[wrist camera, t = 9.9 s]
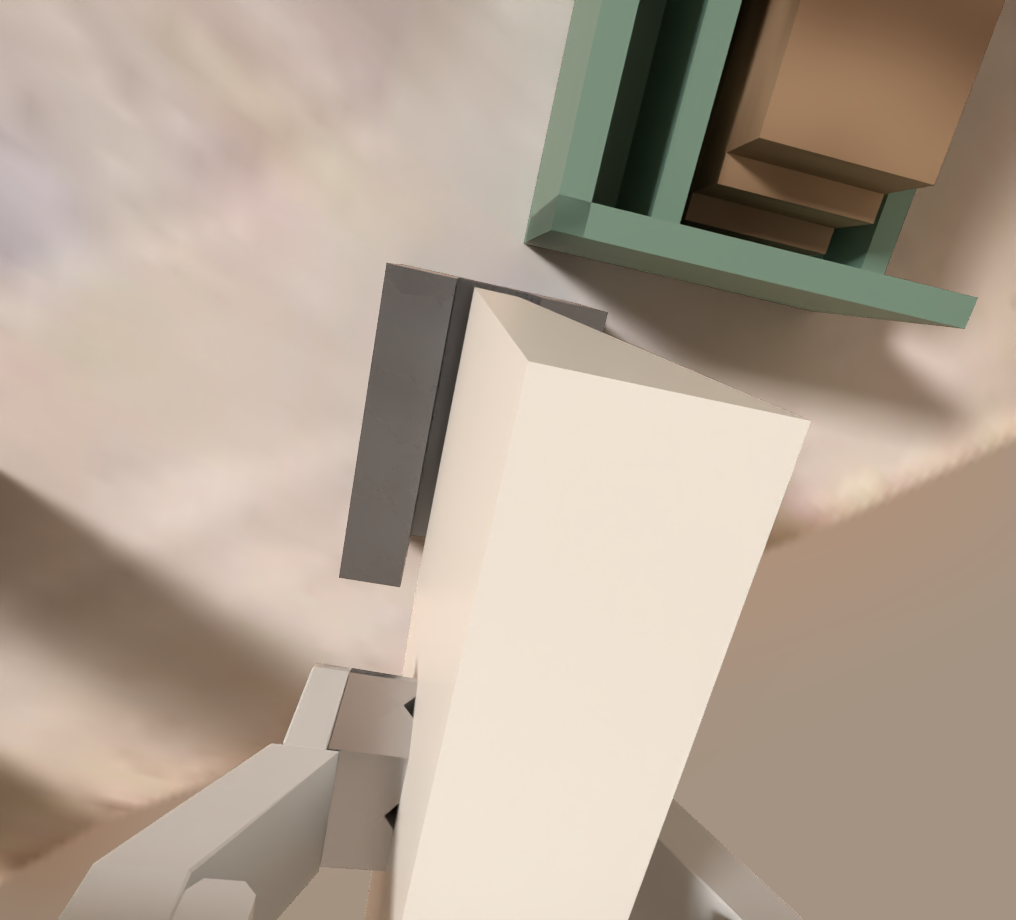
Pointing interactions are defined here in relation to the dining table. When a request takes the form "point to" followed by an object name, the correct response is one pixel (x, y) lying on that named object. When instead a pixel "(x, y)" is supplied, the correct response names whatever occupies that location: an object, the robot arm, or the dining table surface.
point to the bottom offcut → (744, 218)
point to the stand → (413, 412)
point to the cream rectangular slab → (570, 614)
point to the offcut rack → (688, 172)
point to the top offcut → (862, 87)
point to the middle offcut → (760, 179)
